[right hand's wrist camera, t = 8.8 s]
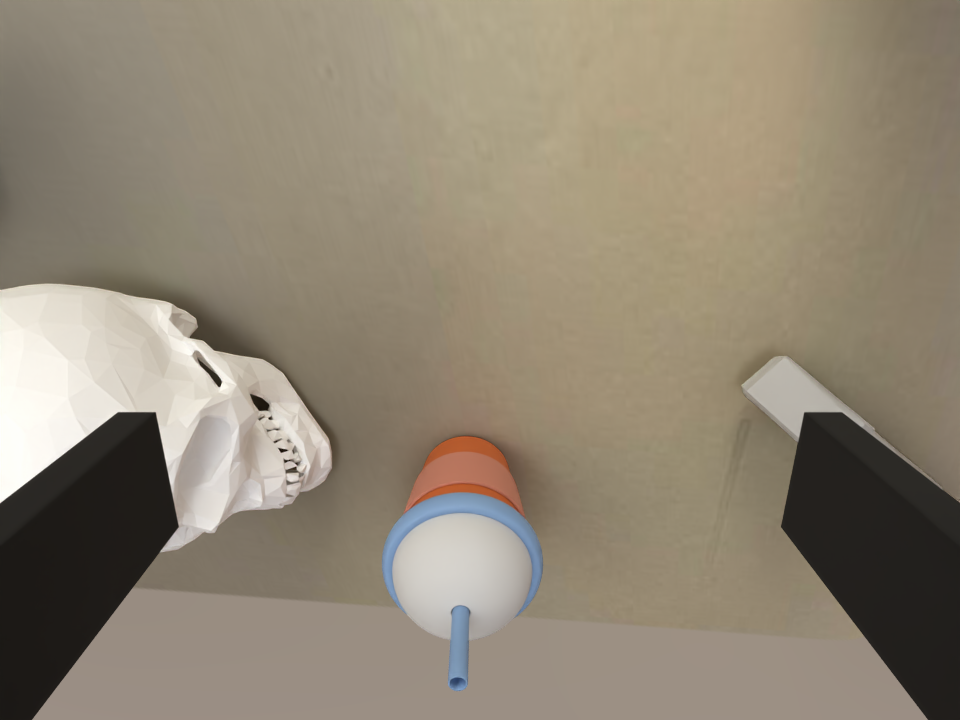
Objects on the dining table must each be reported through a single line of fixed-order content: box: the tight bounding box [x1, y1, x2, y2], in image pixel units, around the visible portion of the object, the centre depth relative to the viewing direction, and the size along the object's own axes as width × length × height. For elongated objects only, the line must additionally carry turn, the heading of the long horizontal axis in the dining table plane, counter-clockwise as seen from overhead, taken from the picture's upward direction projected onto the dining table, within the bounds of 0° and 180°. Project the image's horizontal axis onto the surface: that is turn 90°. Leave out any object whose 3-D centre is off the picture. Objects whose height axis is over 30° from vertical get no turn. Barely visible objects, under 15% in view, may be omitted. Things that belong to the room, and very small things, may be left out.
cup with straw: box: [382, 436, 543, 691], centre depth 36 cm, size 9×9×18 cm
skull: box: [0, 284, 332, 552], centre depth 35 cm, size 13×22×16 cm, turn 63°
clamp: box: [741, 356, 943, 490], centre depth 41 cm, size 20×4×7 cm, turn 52°
